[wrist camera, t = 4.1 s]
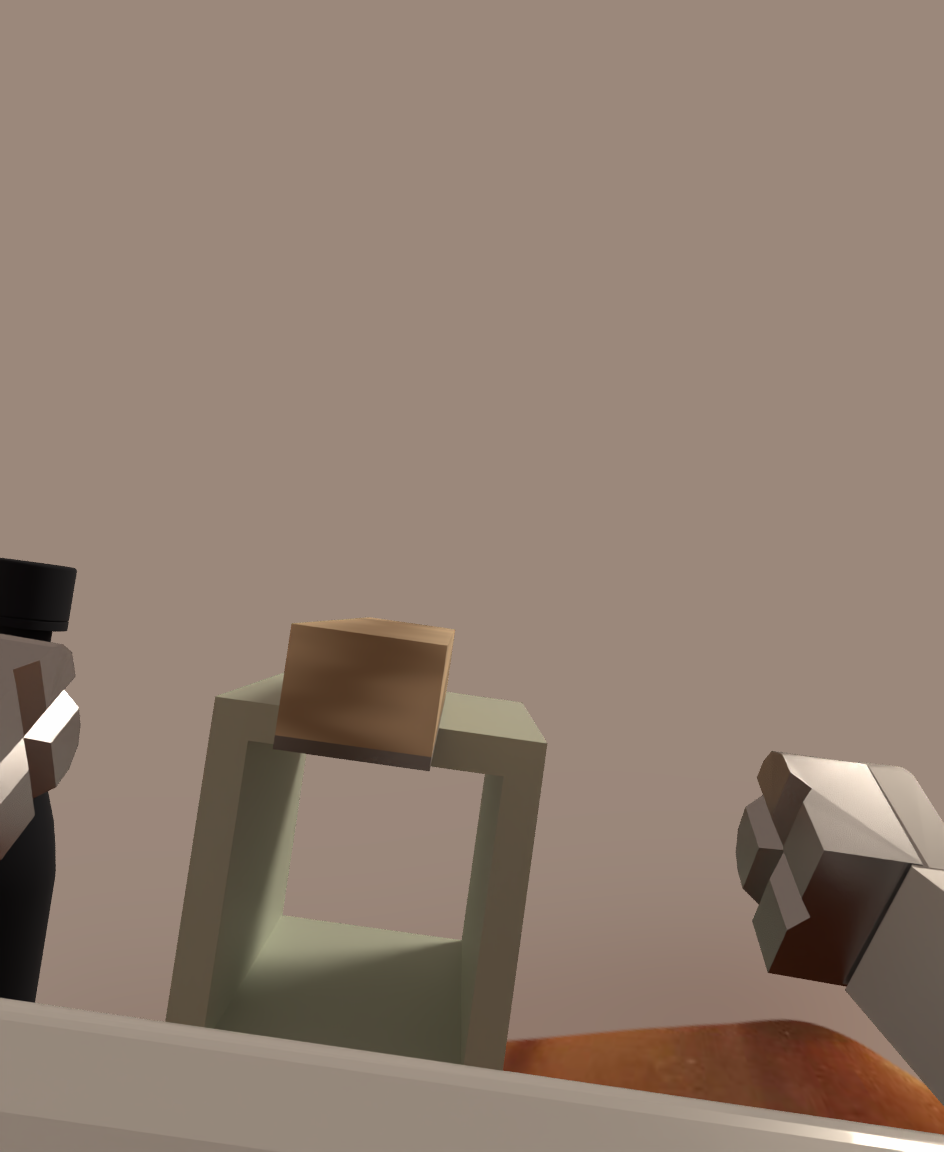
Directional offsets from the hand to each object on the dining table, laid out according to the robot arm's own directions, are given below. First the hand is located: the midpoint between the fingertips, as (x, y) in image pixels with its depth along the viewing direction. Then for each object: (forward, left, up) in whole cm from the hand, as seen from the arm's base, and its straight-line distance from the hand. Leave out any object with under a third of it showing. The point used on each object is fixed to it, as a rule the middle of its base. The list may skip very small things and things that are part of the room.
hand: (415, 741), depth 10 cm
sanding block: (+2, -23, -3) cm, 24 cm away
